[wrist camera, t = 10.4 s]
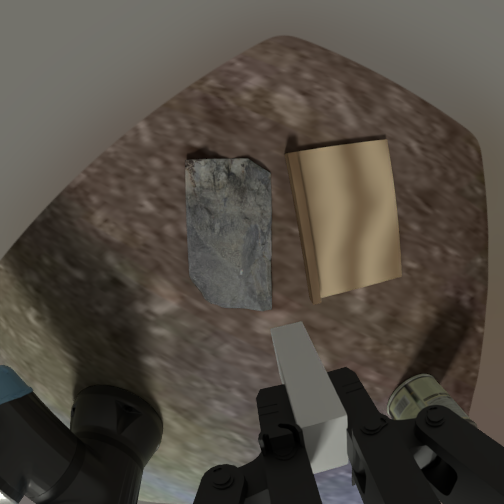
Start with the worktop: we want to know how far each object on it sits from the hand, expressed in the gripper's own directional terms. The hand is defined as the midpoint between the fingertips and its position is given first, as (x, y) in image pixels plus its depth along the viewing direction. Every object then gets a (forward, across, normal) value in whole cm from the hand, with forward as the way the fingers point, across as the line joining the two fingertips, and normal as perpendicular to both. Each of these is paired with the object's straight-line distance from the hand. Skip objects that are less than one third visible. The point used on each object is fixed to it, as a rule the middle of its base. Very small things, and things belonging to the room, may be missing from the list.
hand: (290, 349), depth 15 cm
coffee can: (+24, +22, -33) cm, 46 cm away
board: (+24, +13, 0) cm, 27 cm away
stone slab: (+24, +3, 0) cm, 24 cm away
